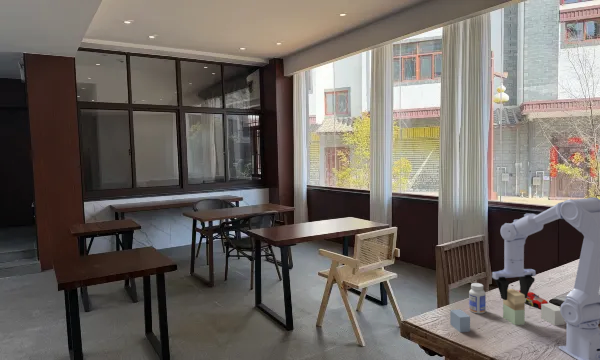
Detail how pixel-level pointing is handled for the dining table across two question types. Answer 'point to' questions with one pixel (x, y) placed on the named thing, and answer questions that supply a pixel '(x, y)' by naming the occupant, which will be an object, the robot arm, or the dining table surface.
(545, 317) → the grey brick
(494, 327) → the dining table surface
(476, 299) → the pill bottle
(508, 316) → the sage brick
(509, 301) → the oak brick
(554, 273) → the dining table surface
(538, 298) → the race car
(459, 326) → the slate-blue brick
